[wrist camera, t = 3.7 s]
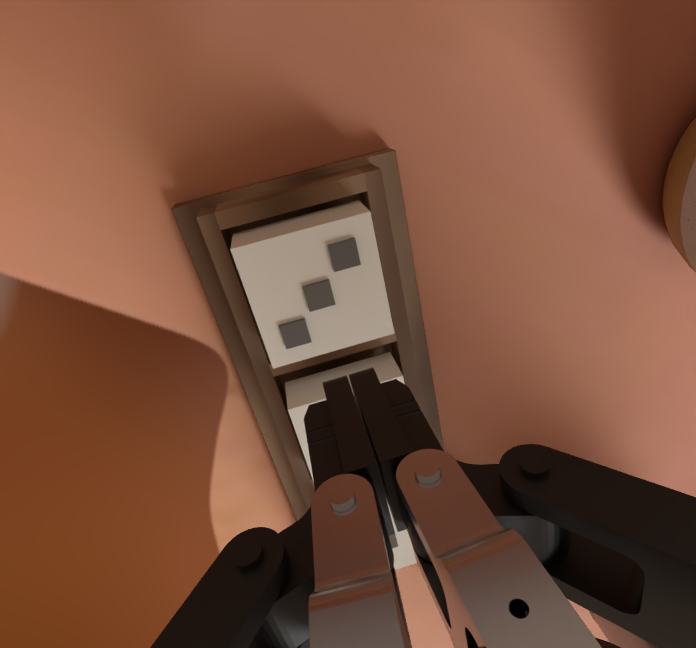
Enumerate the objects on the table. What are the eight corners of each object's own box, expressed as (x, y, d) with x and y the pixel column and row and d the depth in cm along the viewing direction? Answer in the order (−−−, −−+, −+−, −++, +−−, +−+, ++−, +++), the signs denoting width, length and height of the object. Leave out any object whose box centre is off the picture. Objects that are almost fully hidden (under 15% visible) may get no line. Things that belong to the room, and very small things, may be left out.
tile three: (358, 199, 21) (371, 212, 19) (381, 312, 24) (395, 335, 22) (232, 233, 21) (229, 250, 19) (271, 343, 24) (273, 370, 21)
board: (389, 148, 23) (407, 154, 20) (448, 500, 35) (464, 533, 32) (174, 204, 22) (163, 218, 20) (310, 544, 34) (314, 581, 32)
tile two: (390, 351, 25) (404, 377, 23) (406, 433, 28) (421, 464, 26) (284, 382, 25) (287, 412, 22) (312, 462, 28) (318, 496, 25)
